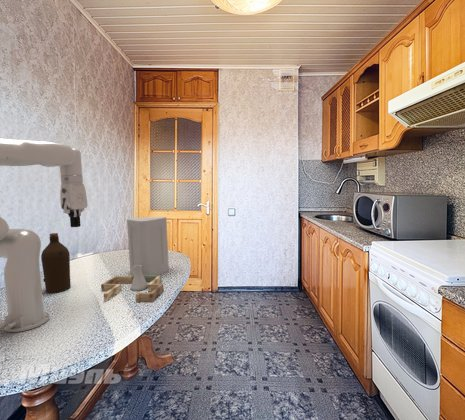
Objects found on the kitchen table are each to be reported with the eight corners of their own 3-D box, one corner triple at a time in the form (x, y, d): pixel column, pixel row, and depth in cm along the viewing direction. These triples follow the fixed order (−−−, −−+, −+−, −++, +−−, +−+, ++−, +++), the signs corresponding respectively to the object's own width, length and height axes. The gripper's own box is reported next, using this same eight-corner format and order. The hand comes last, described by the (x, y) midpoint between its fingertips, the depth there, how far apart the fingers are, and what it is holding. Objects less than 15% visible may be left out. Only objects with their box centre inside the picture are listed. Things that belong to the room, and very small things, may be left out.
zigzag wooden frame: (151, 302, 110) (151, 294, 110) (87, 300, 114) (86, 293, 113) (172, 281, 133) (172, 275, 133) (117, 280, 137) (117, 274, 136)
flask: (141, 292, 122) (140, 268, 121) (126, 290, 124) (125, 267, 123) (151, 286, 128) (149, 264, 128) (137, 284, 131) (135, 263, 130)
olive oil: (77, 285, 132) (73, 231, 130) (61, 293, 122) (56, 235, 120) (55, 285, 133) (50, 231, 131) (38, 293, 123) (32, 235, 121)
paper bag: (125, 280, 137) (121, 222, 135) (132, 271, 152) (128, 218, 150) (166, 277, 140) (163, 220, 137) (169, 268, 154) (166, 216, 152)
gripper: (67, 180, 105) (71, 229, 107) (92, 180, 120) (95, 224, 122) (48, 180, 106) (53, 230, 108) (76, 180, 121) (79, 224, 123)
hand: (75, 226), depth 115 cm, fingers closed
